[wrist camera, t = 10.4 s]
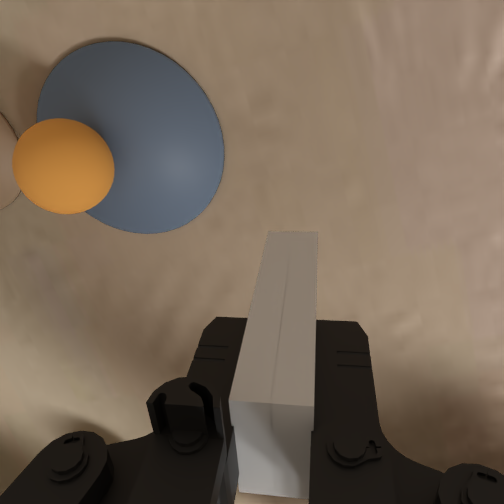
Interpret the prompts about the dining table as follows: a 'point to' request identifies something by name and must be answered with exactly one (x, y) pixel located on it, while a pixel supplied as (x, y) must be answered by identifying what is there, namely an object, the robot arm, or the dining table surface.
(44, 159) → the ball
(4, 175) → the disc
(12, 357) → the dining table surface
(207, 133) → the disc
